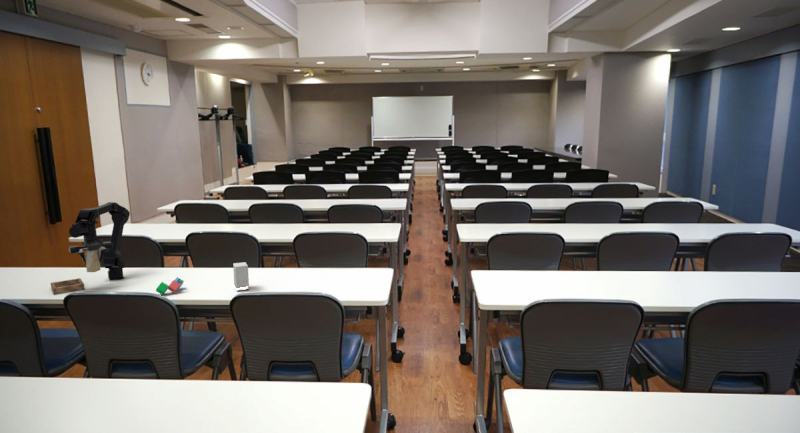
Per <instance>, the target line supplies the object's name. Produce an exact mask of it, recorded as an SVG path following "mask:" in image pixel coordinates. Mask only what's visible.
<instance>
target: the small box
mask: <svg viewBox="0 0 800 433" xmlns="http://www.w3.org/2000/svg"><path fill="white" fill-rule="evenodd" d="M232 264H233V267H232V268H233V286H234V285H235V287H236V288H240V287H246V286H249V287H250V282H249V265H248V264H247V262H245V261H244V262H243V261H242V262H234V263H232Z"/></svg>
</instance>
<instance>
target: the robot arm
mask: <svg viewBox="0 0 800 433" xmlns="http://www.w3.org/2000/svg"><path fill="white" fill-rule="evenodd" d="M107 213H108V214H110V216H111V220H112V223H113V226H112V231H111V236H110V241H109V240H108V241H103V239H102V238H101V239H98V236H97V235H98V234H97V227H96V226H97V224H99V221H97V219H99V218H100V216H101V215H103V214H107ZM77 214H78V215H77V217H76V218H75V221H74V223H72V224H71V227H70V228H69V230H68V233H69V235H70V236H71V238H74V239H76V238H79V237H83V243H84V245H81V246H79V245H78V244H77V245H76V244H75V245H69V247H68V252H69V253H70V254H76V255H79V256H80V257H81V259H82V262H83V263H84V265H86V258H85V251H87V250H89V251H92V250H99V258H100V264H101V263H102V264H103V265H104V267H105V269H108V270H107V277H108V279H109V280H110V281H116V280H122V279H123V280H124V279H125V277H124V272H123V269H125V267H126V261H124V260H123V258H122V257H123V255H122V254H121V249H120V247H121V245H122V244H121V243H122V239H123V231H124V227H125V224H126V223H127V222H128V221H129V219H130V215H131V213H130V211H129V209H127V208H125V206H123V205H120V204H119V203H117V202H114V201H113V202H112V201H109V202H106V203H103V204H101V205H98V206H95V207H91V208H82V209H79V212H78V213H77ZM84 250H85V251H84Z"/></svg>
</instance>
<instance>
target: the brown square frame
mask: <svg viewBox="0 0 800 433" xmlns="http://www.w3.org/2000/svg"><path fill="white" fill-rule="evenodd" d="M50 289H51V291H52V293H53V295H54V296H55V295H59V294H66V293H72V292H77V291H83V290H84V291H85V283H84V282H83V280H82V279H81V278H73V279H67V280H61V281H53V282H50Z"/></svg>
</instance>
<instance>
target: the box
mask: <svg viewBox="0 0 800 433" xmlns="http://www.w3.org/2000/svg"><path fill="white" fill-rule="evenodd" d="M84 256H85V260H86V272H87V273H96V272H99V271H101V270H102V269H101V263H100V258H99V250H92V251H89V250H88V249H86V250H85V251H84Z"/></svg>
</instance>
